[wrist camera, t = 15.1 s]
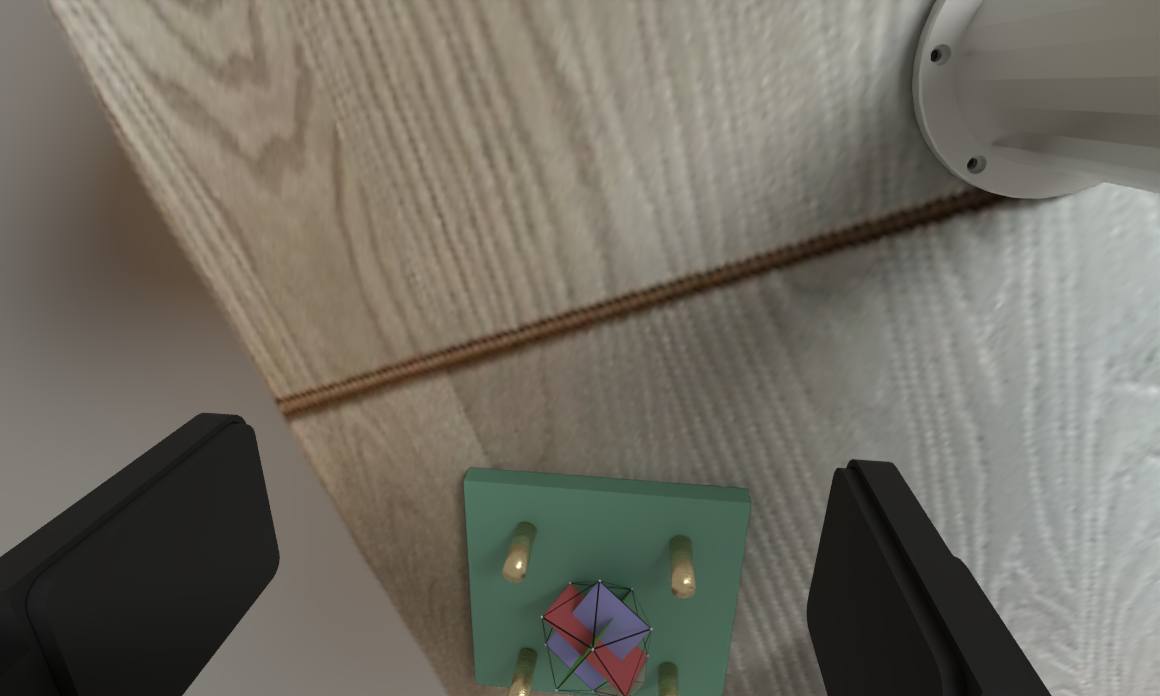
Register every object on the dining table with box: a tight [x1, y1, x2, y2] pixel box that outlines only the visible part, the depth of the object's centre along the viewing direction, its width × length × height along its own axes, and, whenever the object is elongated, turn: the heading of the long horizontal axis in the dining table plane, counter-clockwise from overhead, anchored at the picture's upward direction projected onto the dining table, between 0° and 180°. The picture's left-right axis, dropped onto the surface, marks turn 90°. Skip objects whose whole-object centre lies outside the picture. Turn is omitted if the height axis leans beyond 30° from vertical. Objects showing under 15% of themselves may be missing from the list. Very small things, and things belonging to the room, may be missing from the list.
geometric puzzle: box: [541, 580, 653, 696], centre depth 40 cm, size 7×7×8 cm
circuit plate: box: [463, 467, 751, 696], centre depth 44 cm, size 18×18×2 cm
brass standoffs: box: [502, 522, 696, 696], centre depth 41 cm, size 11×12×4 cm
